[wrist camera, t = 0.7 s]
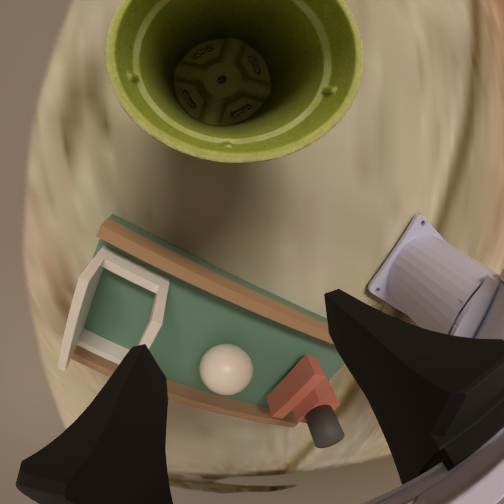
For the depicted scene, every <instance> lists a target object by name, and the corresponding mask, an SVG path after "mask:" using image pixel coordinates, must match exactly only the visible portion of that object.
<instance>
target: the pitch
mask: <svg viewBox="0 0 504 504" xmlns="http://www.w3.org/2000/svg"><path fill="white" fill-rule="evenodd" d="M97 237H99V238H100V240H99V243H98V245H97V248H96V251H95V253H94V256H93V258H94V257H95V256H96V254H97V253H98V252H99V250H100V249H101V248H102V247H103V245H104V246H106V247H107V248H109V249H111V250H113V251H115V252H117V253H119V254H121V255H123V256H125V257H127V258H129V259H131V260H133V261H135V262H137V263H139V264H141V265H143V266H145V267H147V268H149V269H151V270H153V271H155V272H157V273H159V274H161V275H163V276H165V277H167V278H169V279H170V282H169V287H168V293H167V299H166V304H165V310H164V316H163V323H162V326H161V328H160V329H159V331H158V333H157V335H156V337H155V339H154V341H153V342H152V344H151V346H150V348H149V351H150V353H151V354H152V356H153V357H154V359H155V361H156V362H157V364H158V365H159V367H160V369H161V370H162V372H163V373H164V375H165V376H166V379H167V393H168V399H172V400H175V401H178V402H181V403H184V404H188V405H191V406H195V407H198V408H202V409H206V410H209V411H213V412H217V413H221V414H225V415H230V416H234V417H239V418H243V419H248V420H253V421H259V422H264V423H270V424H276V425H282V426H289V427H294V426H296V425H297V424H298V422H297V421H296V418H295V415H294V412H293V409H292V410H291V411H290V412H289V413H288V414H287V415H286V416H285V417H284V418H277V417H272V416H271V412H270V409H269V405H268V401H267V398H266V397H267V396H268V395H269V394H270V393H271V391H272V390H273V389H274V388H275V387H276V386H277V385H278V384H279V383H280V382H281V381H282V380H283V379H284V378H285V377H286V376H287V375H288V373H289V372H290V371H291V370H292V369H293V368H294V367H295V366H296V365H297V364H298V362H299V361H300V360H301V359H302V358H303V357H304V356H305V355H306V354H307V355H310V356H313V357H316V358H317V360H318V362H319V364H320V366H321V368H322V370H323V372H324V373H325V375H326V377H327V379H328V380H329V379H330V378H331V377H332V376H333V375H334V374H335V373H336V372H337V371H338V370H339V369H340V368H341V367H342V365H343V364H344V361H343V360H342V358H341V357H340V355H339V353H338V351H337V349H336V347H335V345H334V343H333V341H332V339H331V337H330V335H329V330H328V321H327V319H326V318H324V317H322V316H319V315H317V314H315V313H313V312H311V311H308V310H306V309H304V308H302V307H300V306H298V305H295V304H293V303H291V302H289V301H287V300H285V299H283V298H280V297H278V296H276V295H274V294H272V293H270V292H268V291H266V290H263V289H261V288H259V287H257V286H255V285H253V284H251V283H249V282H247V281H245V280H243V279H241V278H238V277H236V276H234V275H232V274H230V273H228V272H226V271H224V270H222V269H220V268H218V267H216V266H214V265H212V264H210V263H208V262H206V261H204V260H202V259H200V258H198V257H196V256H194V255H192V254H190V253H188V252H186V251H184V250H182V249H180V248H178V247H176V246H174V245H172V244H170V243H168V242H166V241H164V240H162V239H160V238H158V237H156V236H154V235H152V234H150V233H148V232H146V231H145V230H143V229H141V228H139V227H137V226H135V225H133V224H131V223H129V222H127V221H125V220H123V219H122V218H120V217H118V216H116V215H114V214H112V215H111V216H110V217H109V218H108V219H107V220H106V221H105V222H104V223H103V224H102V225H101V226H100V229H99V232H98V234H97ZM155 295H156V293H154V292H152V291H150V290H148V289H146V288H144V287H142V286H139V285H137V284H135V283H133V282H131V281H129V280H127V279H125V278H123V277H121V276H119V275H117V274H115V273H113V272H111V271H110V270H108V269H106V268H104V269H103V272H102V274H101V277H100V280H99V283H98V285H97V288H96V291H95V294H94V297H93V300H92V303H91V306H90V309H89V312H88V315H87V319H86V322H85V325H84V329H86V330H88V331H90V332H92V333H94V334H96V335H98V336H100V337H102V338H105V339H107V340H109V341H111V342H113V343H115V344H118V345H120V346H122V347H124V348H127V349H129V350H130V349H131V348H132V347H134V346H137V345H138V343H139V341H140V339H141V337H142V335H143V333H144V331H145V329H146V327H147V325H148V323H149V320H150V316H151V311H152V307H153V303H154V299H155ZM219 344H232V345H235V346H238V347H240V348H241V349H243V350H244V351H245V352H246V353H247V354H248V356H249V357H250V359H251V362H252V365H253V375H252V378H251V381H250V382H249V384H248V385H247V387H246V388H244V389H243V390H242V391H240V392H238V393H236V394H233V395H221V394H217V393H215V392H213V391H211V390H210V389H209V388H207V386H206V385H205V384H204V383H203V381H202V379H201V376H200V371H199V368H200V362H201V359H202V357H203V355H204V354H205V353H206V352H207V351H208V350H209V349H210V348H212V347H214V346H216V345H219ZM71 359H73V360H75V361H77V362H79V363H81V364H83V365H86V366H88V367H90V368H92V369H94V370H96V371H99V372H101V373H103V374H105V375H108V376H110V377H111V376H112V374H113V373H114V371H115V370H116V368H117V367H118V366H119V364H116V363H114V362H112V361H110V360H107V359H105V358H103V357H101V356H99V355H96V354H94V353H92V352H90V351H88V350H86V349H84V348H82V347H80V346H78V345H76V348H75V350H74V352H73V354H72V357H71Z"/></svg>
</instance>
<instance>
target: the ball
mask: <svg viewBox="0 0 504 504" xmlns="http://www.w3.org/2000/svg"><path fill="white" fill-rule="evenodd" d="M199 371H200V376H201V379H202V381H203V383H204V384H205V385H206V386H207V388H209V389H210V390H211V391H213V392H215V393H217V394H221V395H233V394H236V393H238V392H240V391H242V390H243V389H244V388H246V387H247V385H248V384H249V382H250V381H251V378H252V375H253V365H252V362H251V359H250V357H249V356H248V354H247V353H246V352H245V351H244V350H243V349H241V348H240V347H238V346H235V345H232V344H219V345H216V346H214V347H212V348H210V349H209V350H208V351H207V352H206V353H205V354H204V355H203V357H202V359H201V362H200V368H199Z"/></svg>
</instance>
